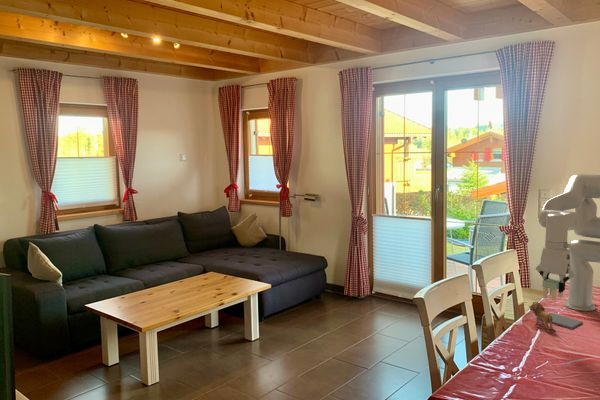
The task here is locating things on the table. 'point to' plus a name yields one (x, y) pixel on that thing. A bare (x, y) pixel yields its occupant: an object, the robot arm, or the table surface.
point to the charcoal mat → (564, 321)
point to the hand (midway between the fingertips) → (553, 289)
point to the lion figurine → (542, 315)
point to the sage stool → (551, 287)
